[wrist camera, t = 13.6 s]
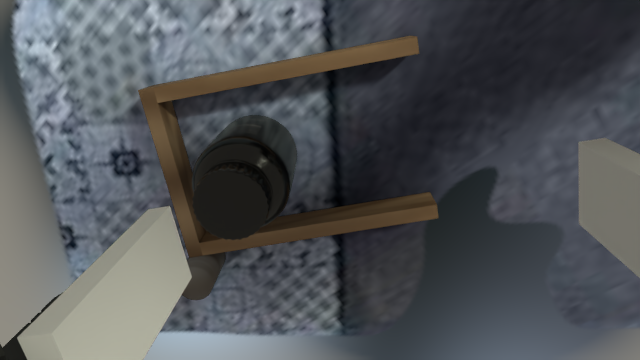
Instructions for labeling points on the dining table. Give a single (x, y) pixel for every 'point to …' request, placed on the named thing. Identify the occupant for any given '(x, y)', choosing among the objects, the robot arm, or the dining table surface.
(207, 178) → the supplement bottle
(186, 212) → the bay
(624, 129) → the dining table surface
